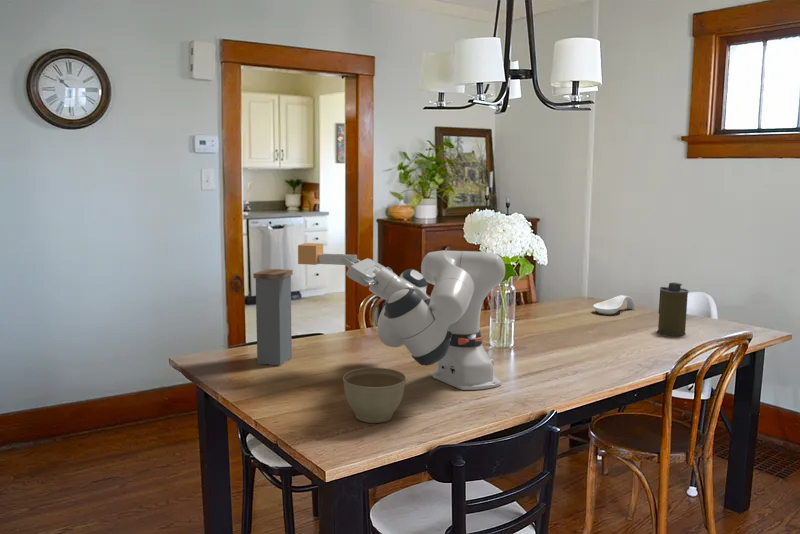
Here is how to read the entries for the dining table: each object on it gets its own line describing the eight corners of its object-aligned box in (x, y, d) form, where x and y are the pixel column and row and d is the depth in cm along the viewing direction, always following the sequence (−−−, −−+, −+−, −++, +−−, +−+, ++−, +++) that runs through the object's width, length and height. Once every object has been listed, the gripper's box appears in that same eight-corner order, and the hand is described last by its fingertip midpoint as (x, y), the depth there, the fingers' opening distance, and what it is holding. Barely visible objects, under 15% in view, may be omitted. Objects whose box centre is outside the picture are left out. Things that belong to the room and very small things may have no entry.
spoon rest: (608, 317, 302) (609, 301, 301) (587, 313, 312) (588, 297, 311) (642, 311, 316) (642, 296, 315) (620, 307, 325) (621, 292, 324)
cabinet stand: (293, 357, 234) (292, 269, 230) (281, 366, 223) (279, 274, 219) (268, 355, 236) (267, 268, 231) (255, 364, 225) (253, 273, 221)
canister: (691, 333, 274) (694, 283, 271) (675, 337, 268) (678, 286, 265) (666, 328, 282) (670, 279, 280) (651, 331, 277) (654, 282, 274)
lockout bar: (358, 263, 222) (358, 244, 221) (352, 266, 215) (352, 247, 214) (305, 261, 226) (305, 243, 225) (298, 264, 219) (297, 245, 218)
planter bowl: (332, 423, 174) (332, 381, 173) (358, 403, 189) (358, 364, 188) (391, 432, 169) (391, 389, 167) (413, 411, 184) (414, 371, 182)
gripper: (367, 295, 208) (329, 270, 210) (383, 284, 228) (348, 262, 230) (377, 277, 207) (339, 253, 208) (393, 268, 227) (358, 246, 228)
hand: (344, 258), depth 219 cm, fingers closed on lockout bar, 3 cm apart
